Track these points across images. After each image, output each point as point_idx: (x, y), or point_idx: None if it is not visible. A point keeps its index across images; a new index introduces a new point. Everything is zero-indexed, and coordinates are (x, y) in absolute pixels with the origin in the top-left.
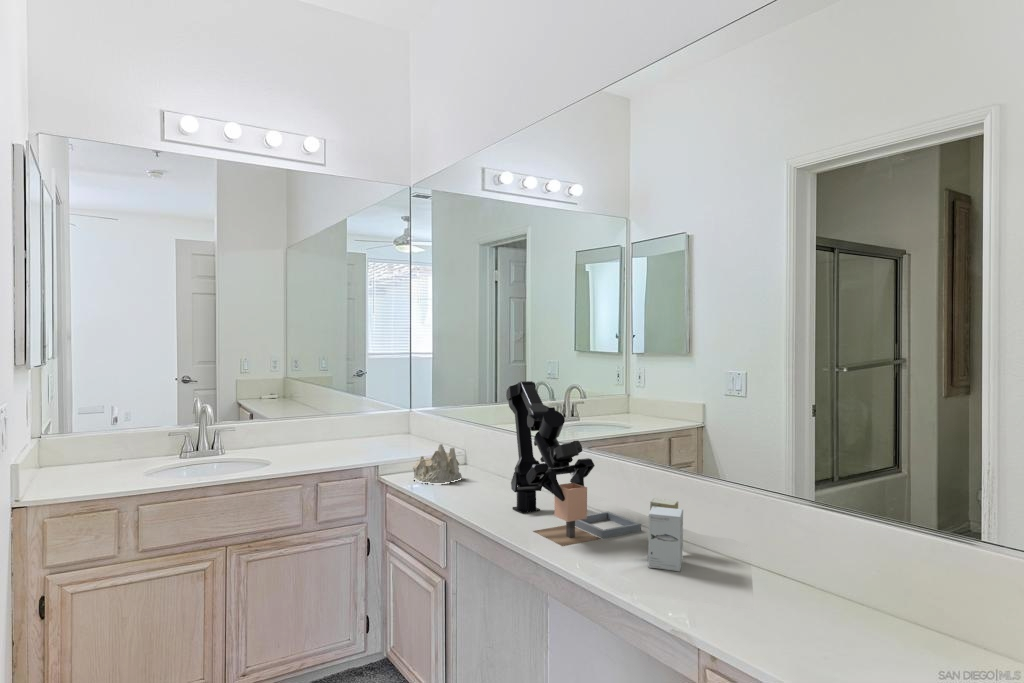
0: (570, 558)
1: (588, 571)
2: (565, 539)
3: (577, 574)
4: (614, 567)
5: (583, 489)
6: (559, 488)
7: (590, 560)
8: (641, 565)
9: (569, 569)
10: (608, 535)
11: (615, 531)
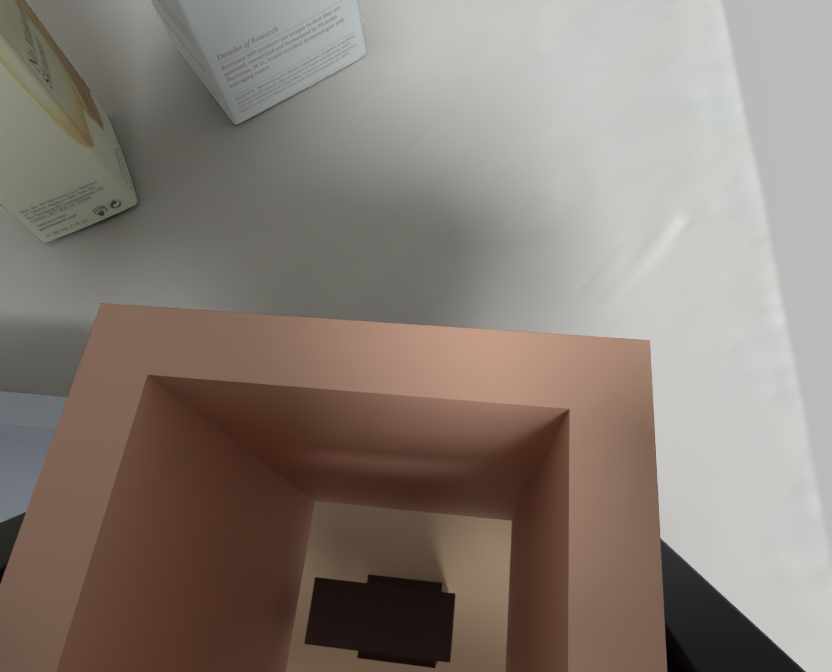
0: None
1: (662, 152)
2: (505, 583)
3: (744, 150)
4: (500, 129)
5: (214, 322)
6: (738, 662)
7: (544, 259)
8: (364, 90)
9: (748, 219)
10: None
11: None
